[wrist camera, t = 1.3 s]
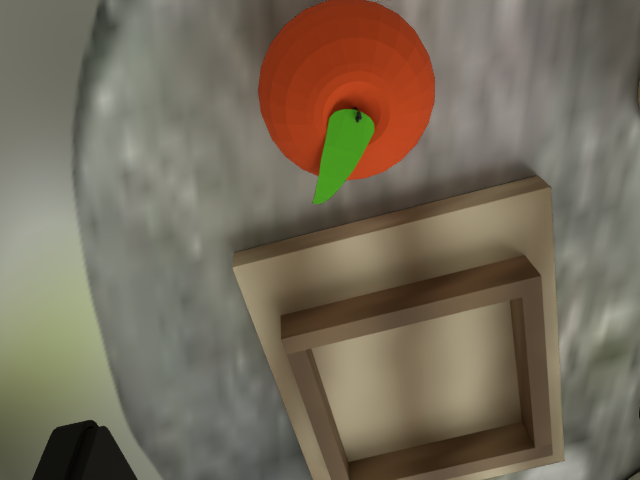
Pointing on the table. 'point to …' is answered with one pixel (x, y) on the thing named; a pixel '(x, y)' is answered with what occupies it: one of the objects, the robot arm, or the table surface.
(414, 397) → the board
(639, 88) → the flower pot
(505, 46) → the table surface
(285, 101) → the clementine
